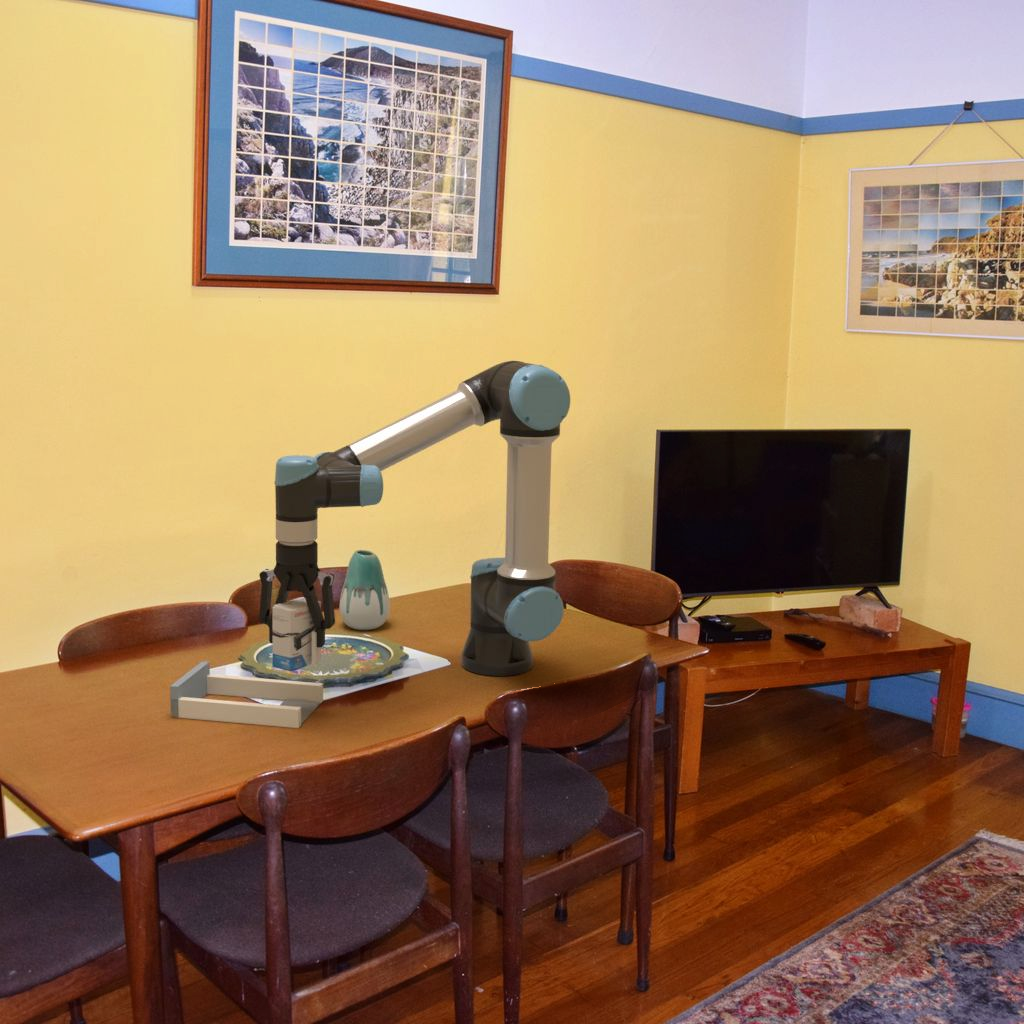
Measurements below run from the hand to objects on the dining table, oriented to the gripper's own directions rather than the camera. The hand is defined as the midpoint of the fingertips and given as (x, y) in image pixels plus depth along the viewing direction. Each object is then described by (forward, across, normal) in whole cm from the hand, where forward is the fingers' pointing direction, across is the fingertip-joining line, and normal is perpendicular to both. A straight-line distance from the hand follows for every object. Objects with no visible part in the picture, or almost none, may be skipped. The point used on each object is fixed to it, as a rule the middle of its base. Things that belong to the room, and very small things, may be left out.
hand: (297, 661), depth 224 cm
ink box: (+1, 0, 0) cm, 1 cm away
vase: (+10, +3, -56) cm, 57 cm away
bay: (+10, +9, 0) cm, 14 cm away
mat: (+10, +1, 0) cm, 10 cm away
